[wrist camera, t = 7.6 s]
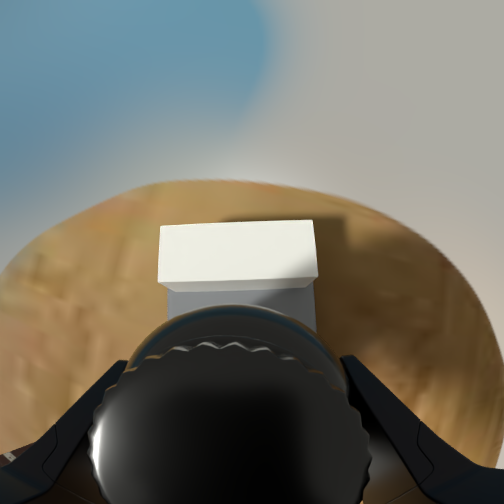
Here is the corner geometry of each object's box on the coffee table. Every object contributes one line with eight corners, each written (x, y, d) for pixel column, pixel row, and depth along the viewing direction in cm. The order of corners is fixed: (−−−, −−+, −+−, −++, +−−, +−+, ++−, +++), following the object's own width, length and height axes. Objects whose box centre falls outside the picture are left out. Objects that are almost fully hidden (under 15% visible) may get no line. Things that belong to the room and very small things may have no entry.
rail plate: (315, 473, 14) (330, 502, 10) (181, 476, 14) (166, 505, 10) (307, 243, 19) (321, 219, 15) (171, 248, 19) (151, 226, 15)
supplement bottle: (247, 456, 13) (243, 616, 2) (156, 380, 15) (-3, 436, 3) (328, 370, 15) (479, 422, 3) (235, 294, 16) (197, 184, 4)
